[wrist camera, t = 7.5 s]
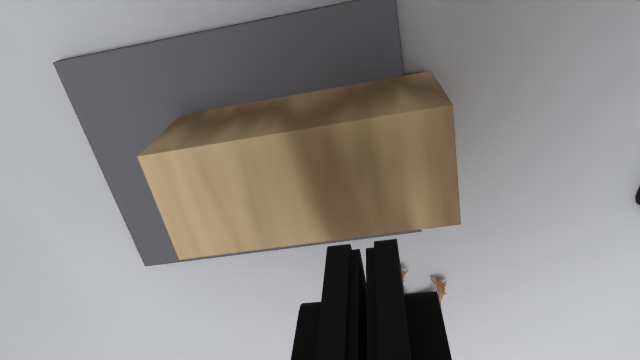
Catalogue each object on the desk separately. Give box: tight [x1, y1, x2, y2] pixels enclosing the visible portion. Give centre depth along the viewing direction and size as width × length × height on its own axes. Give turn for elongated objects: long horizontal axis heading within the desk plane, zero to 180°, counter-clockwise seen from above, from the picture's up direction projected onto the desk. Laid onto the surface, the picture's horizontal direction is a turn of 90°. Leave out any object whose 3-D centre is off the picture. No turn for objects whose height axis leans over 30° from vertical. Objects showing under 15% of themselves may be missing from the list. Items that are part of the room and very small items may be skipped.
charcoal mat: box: [53, 0, 422, 266], centre depth 23 cm, size 16×12×1 cm
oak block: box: [137, 71, 461, 260], centre depth 20 cm, size 5×5×12 cm
